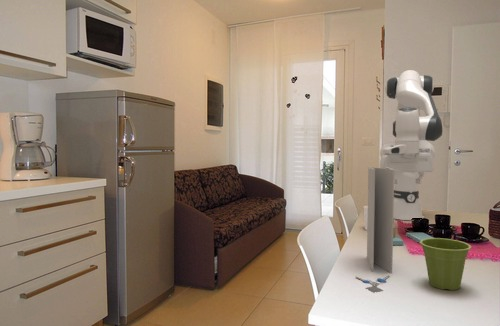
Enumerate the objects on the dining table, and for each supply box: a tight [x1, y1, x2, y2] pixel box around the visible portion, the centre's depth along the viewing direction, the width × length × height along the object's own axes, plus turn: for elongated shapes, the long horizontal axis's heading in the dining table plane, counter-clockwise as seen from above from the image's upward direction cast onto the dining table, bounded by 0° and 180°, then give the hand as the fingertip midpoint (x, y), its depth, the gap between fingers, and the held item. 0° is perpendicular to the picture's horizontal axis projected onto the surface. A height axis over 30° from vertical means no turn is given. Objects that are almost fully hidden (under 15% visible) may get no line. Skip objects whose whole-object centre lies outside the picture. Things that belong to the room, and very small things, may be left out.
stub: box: [393, 225, 405, 246], centre depth 142 cm, size 14×6×6 cm, turn 1°
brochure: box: [366, 166, 395, 274], centre depth 113 cm, size 14×6×30 cm, turn 168°
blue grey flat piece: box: [355, 275, 390, 294], centre depth 99 cm, size 14×8×1 cm, turn 151°
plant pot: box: [419, 237, 472, 291], centre depth 96 cm, size 12×12×11 cm
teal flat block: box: [405, 232, 434, 244], centre depth 143 cm, size 14×7×2 cm, turn 1°
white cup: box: [363, 205, 368, 231], centre depth 161 cm, size 8×8×10 cm
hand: (406, 183), depth 145 cm, fingers open, 8 cm apart
